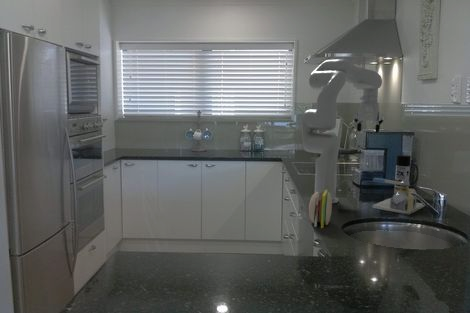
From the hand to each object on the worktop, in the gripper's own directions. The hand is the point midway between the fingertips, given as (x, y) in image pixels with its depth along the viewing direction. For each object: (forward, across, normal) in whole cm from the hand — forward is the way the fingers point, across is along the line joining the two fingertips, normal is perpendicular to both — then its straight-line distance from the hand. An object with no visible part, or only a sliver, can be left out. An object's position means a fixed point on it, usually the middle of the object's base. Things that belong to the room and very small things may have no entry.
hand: (368, 131), depth 231 cm
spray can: (+31, +20, -3) cm, 37 cm away
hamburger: (+31, +13, -80) cm, 87 cm away
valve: (+31, +28, -32) cm, 53 cm away
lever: (+21, +24, -32) cm, 45 cm away
